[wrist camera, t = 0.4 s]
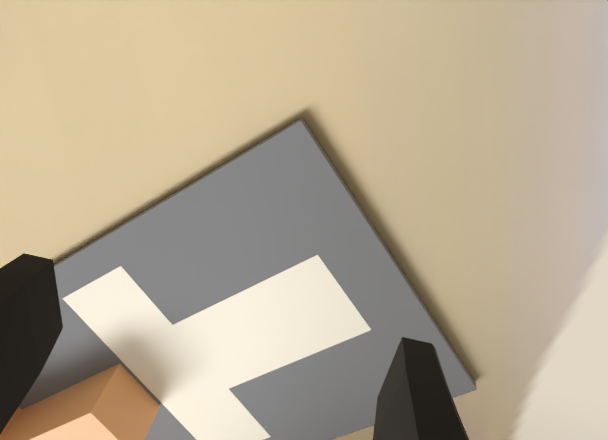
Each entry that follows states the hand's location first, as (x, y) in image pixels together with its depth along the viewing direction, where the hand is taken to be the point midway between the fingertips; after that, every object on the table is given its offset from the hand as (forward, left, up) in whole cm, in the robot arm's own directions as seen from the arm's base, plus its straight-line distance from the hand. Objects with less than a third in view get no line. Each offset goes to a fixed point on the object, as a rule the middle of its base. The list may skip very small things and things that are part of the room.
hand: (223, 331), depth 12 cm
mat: (-15, -6, -10) cm, 19 cm away
